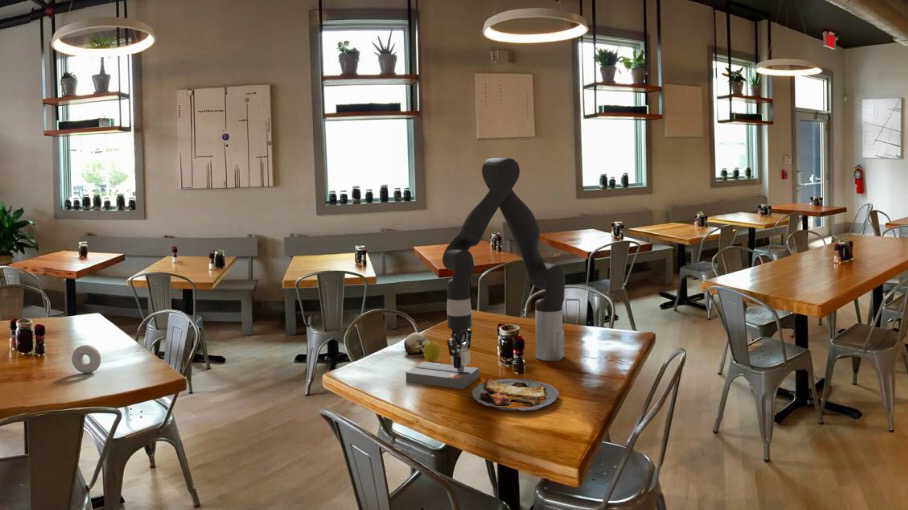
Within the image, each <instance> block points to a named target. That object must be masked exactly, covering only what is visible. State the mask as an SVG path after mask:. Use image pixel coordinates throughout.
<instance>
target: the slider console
mask: <svg viewBox="0 0 908 510" xmlns="http://www.w3.org/2000/svg"><path fill="white" fill-rule="evenodd" d="M479 373H480V370H479V367H475V366H474V367H472V366H464V371H463V372H458V371H457V368H454V365H453V364H446V363H439V362H433V363H431V362H429V361H422V362H420V363H419V364H417V365H416V366H414V367H412V368H410V369H408V370H407V371H406V372H405V382H407V383H413V384H422V385H429V386H437V387H443V386H445V387H446V388H451V387H453V389H458V388H459V389H460V390H464V389H466V388H467V387H468V386H470V385H471V384H472V383H474V382H475V381H476V380H477V379H478V378H479V377H480V374H479ZM445 387H444V388H445Z"/></svg>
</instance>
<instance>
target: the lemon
mask: <svg viewBox="0 0 908 510" xmlns="http://www.w3.org/2000/svg"><path fill="white" fill-rule="evenodd" d="M440 352H441V351H440V347H439V345H438V343H436V342H435V341H433V340H430V341H429V342H428V343H427V344H426V345H425V347H424V356H423V357H424V359H425V361H426V362H431V363H435V361H437V360H438V359H439V357H440Z"/></svg>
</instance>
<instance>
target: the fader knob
mask: <svg viewBox="0 0 908 510" xmlns="http://www.w3.org/2000/svg"><path fill="white" fill-rule="evenodd" d="M449 357H450V365H454V358H453V356H450V355H449ZM470 363H471V349H468V350H466V349H462V350H461V368H457V371H458V372H463V371H464V366H465V367H467V365H469V364H470Z"/></svg>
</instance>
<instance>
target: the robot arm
mask: <svg viewBox="0 0 908 510" xmlns="http://www.w3.org/2000/svg"><path fill="white" fill-rule="evenodd" d="M520 173H521V168H520V165H519V163H518V161H517V160H516V159H513V158H510V157H491V158H488V159H486V160H485V161H483V164H482V168H481V175H482V178H483V181H484V183H485V185H486V186H487V189H488V192H487V193H486V194H485V195H484V196H483V198H482V199H481V200H480V201H479V202H478V203H477V204H476V205H475V206H473V208H472V209H471V211H470V212H468V214H467V216H466V218H465V219H464V221H463V224H462V225H461V227H460V230H459V231H458V234H457V235H456V236H454V237H453V239H452V240H451V242H450V243H449V244H448V245H447V247H445V250H444V251H443V255H442V259H441V260H442V265H443V267H444V268H445V269H447V270H449V271H453V277H452V278H451V279H449V280H448V281H447V284H446V289H447V292H446V293H447V295H446V296H447V301H446V319H447V324H446V325H447V326H446V327H447V328H448V329H450V330H451V337H450V338H447V339H446V343H447V347H448V348H447V349H448V352H449V353H448V354H449V357H450V356H453V358H454V368H461V350H462V349H466V350H471V343H472V333H473V331H472V329H470V328H471V327H472V303H471V289H470V288H471V287H470V285H471V281H472V277H473V276H472V275H473V271H474V265H475V263H474V258H473V257H474V256H473V255H472V253H471V252H470V251H469V250H470V249H471V248H473V247H477V246H478V245H479V244H480V241H481V240H482V237H483V235H484V234H485V232H486V230H487V227H488V226H489V224H490V222H491V220H492V218H493V216H494V215H495V214H496V212H497V210H498V209H500V213H501V214H502V216H503V219H504V220H505V222H506V224H507V227H508V229H509V231H510V234H511V237H512V238H513V241H514V242H515V243H516V246H517V248H518V251H519V253H520V255H521V258H522V260H523V263H524V266H525V269H526V272H527V275H528V277H529V280H530V282H531V284H532V286H533V287H535V288H536V289H538V290H539V289H540V290H544V291H545V293H544V297H543V298H540V299H537V300H536V301H535V308H534V309H535V317H534V318H535V358H537V360H541V361H546V362H547V361H548V362H550V361H558V362H559V361H560V360H562V359H563V358H564V357H565V330H564V329H563V303H564V301H565V289H566V286H565V285H566V274H565V273H566V272H565V270H564V268H563V267H562V266H561V265H560V264H557V263H555V264H554V263H548V262H545V261H544V259H543V258H542V255H541V253H540V250H539V243H540V237H541V230H540V226H539V224H538V222H537V220H536V216H535V215H534V213H533V211H532V210H531V209H530V207H528V206H527V204H526V203H524V202H523V200H522V199H520V197H518V195H517V194H516V192H515V191H514V189H513V188H514V186H515V185H516V184H517V182H518V180H519V177H520V175H521V174H520Z"/></svg>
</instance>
